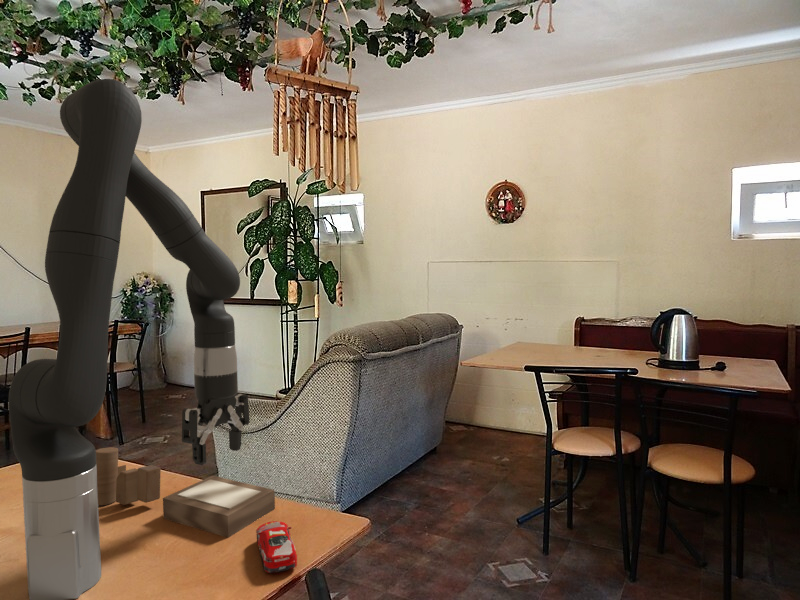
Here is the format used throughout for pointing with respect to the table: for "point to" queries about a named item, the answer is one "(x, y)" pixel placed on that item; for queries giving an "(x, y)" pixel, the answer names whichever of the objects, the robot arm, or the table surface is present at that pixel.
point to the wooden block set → (124, 480)
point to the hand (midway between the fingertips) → (218, 456)
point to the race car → (276, 547)
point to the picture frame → (219, 505)
